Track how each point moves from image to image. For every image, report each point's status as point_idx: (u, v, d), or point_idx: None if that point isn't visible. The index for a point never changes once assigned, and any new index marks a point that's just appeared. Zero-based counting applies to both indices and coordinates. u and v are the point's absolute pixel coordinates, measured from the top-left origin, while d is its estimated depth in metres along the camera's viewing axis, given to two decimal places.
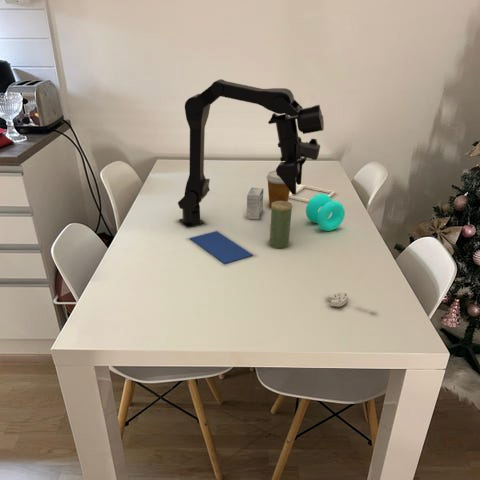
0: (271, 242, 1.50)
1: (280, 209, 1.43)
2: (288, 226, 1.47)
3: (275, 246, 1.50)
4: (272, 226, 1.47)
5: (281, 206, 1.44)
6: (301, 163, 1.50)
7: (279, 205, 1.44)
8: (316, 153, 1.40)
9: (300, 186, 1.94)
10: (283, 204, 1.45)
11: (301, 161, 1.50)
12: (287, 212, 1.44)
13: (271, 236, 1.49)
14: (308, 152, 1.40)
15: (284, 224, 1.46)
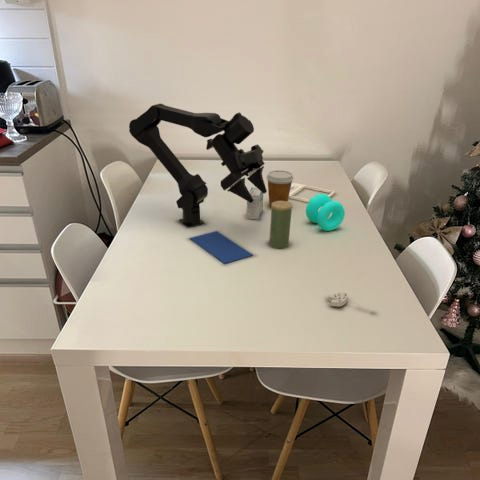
0: (271, 242, 1.50)
1: (280, 209, 1.43)
2: (288, 226, 1.47)
3: (275, 246, 1.50)
4: (272, 226, 1.47)
5: (281, 206, 1.44)
6: (258, 172, 1.50)
7: (279, 205, 1.44)
8: (254, 155, 1.40)
9: (300, 186, 1.94)
10: (283, 204, 1.45)
11: (257, 170, 1.50)
12: (287, 212, 1.44)
13: (271, 236, 1.49)
14: (247, 158, 1.41)
15: (284, 224, 1.46)
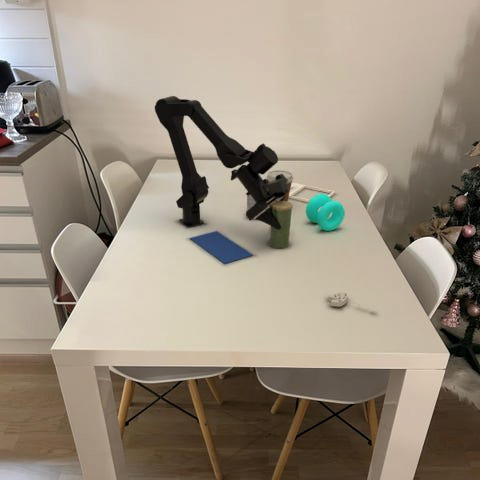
0: (271, 242, 1.50)
1: (280, 209, 1.43)
2: (288, 226, 1.47)
3: (275, 246, 1.50)
4: None
5: (281, 206, 1.44)
6: None
7: (279, 205, 1.44)
8: (279, 185, 1.40)
9: (300, 186, 1.94)
10: (283, 204, 1.45)
11: (280, 200, 1.49)
12: (288, 212, 1.44)
13: (271, 236, 1.49)
14: (272, 188, 1.41)
15: (284, 224, 1.46)
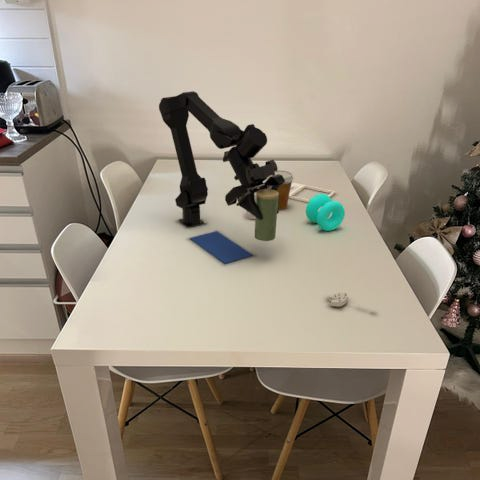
0: (255, 233, 1.39)
1: (262, 197, 1.31)
2: (272, 217, 1.35)
3: (258, 237, 1.39)
4: None
5: (264, 194, 1.32)
6: None
7: (263, 193, 1.33)
8: (262, 171, 1.29)
9: (300, 186, 1.94)
10: (269, 193, 1.33)
11: None
12: (270, 202, 1.32)
13: (255, 226, 1.38)
14: (255, 173, 1.30)
15: (267, 215, 1.34)
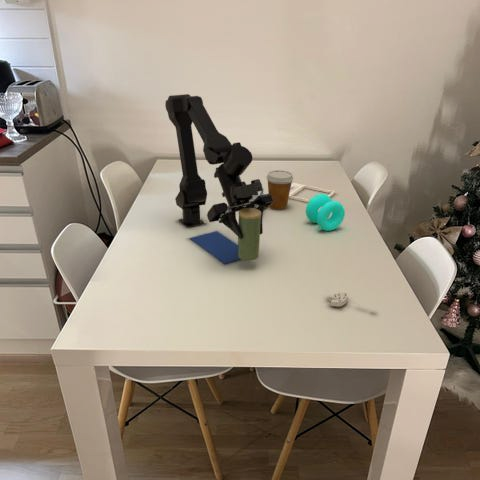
0: None
1: (242, 216, 1.29)
2: (253, 237, 1.32)
3: (239, 256, 1.37)
4: None
5: (245, 214, 1.30)
6: None
7: (245, 212, 1.31)
8: (243, 190, 1.27)
9: (300, 186, 1.94)
10: (251, 212, 1.31)
11: (257, 208, 1.35)
12: (251, 222, 1.30)
13: (238, 244, 1.37)
14: (238, 192, 1.29)
15: (247, 234, 1.32)
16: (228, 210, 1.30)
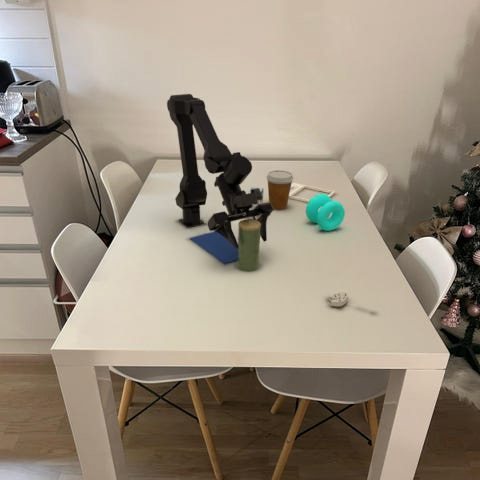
0: None
1: (242, 228, 1.31)
2: (252, 248, 1.34)
3: (239, 267, 1.38)
4: (238, 245, 1.36)
5: (245, 225, 1.32)
6: (261, 218, 1.36)
7: (245, 224, 1.33)
8: (243, 199, 1.28)
9: (300, 186, 1.94)
10: (251, 224, 1.33)
11: (261, 216, 1.37)
12: (250, 233, 1.31)
13: None
14: (238, 201, 1.30)
15: (247, 245, 1.33)
16: None
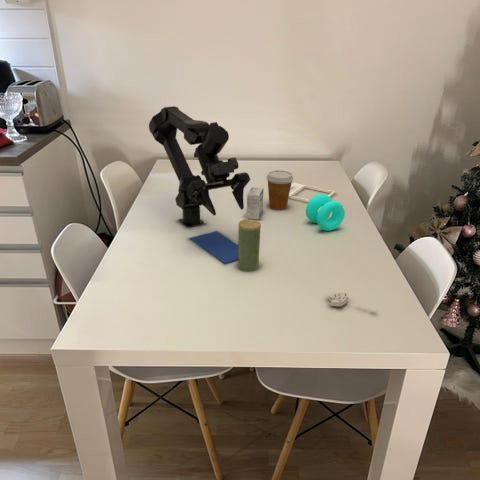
0: None
1: (242, 228, 1.31)
2: (252, 248, 1.34)
3: (239, 267, 1.38)
4: (238, 245, 1.36)
5: (245, 225, 1.32)
6: (238, 187, 1.43)
7: (245, 224, 1.33)
8: (219, 167, 1.34)
9: (300, 186, 1.94)
10: (251, 224, 1.33)
11: (238, 185, 1.43)
12: (250, 233, 1.31)
13: None
14: (215, 169, 1.36)
15: (247, 245, 1.33)
16: None
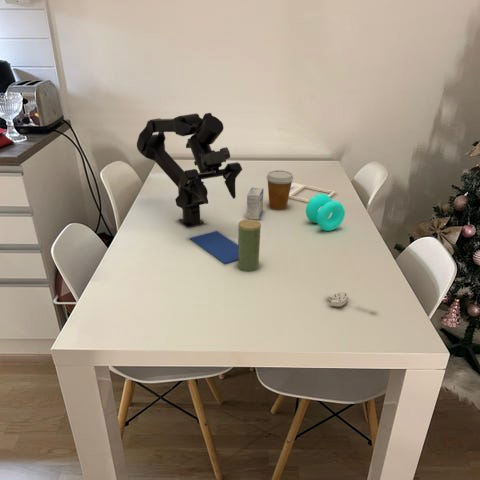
0: None
1: (242, 228, 1.31)
2: (252, 248, 1.34)
3: (239, 267, 1.38)
4: (238, 245, 1.36)
5: (245, 225, 1.32)
6: (230, 176, 1.46)
7: (245, 224, 1.33)
8: (211, 157, 1.38)
9: (300, 186, 1.94)
10: (251, 224, 1.33)
11: (230, 174, 1.46)
12: (250, 233, 1.31)
13: None
14: (207, 159, 1.40)
15: (247, 245, 1.33)
16: None
